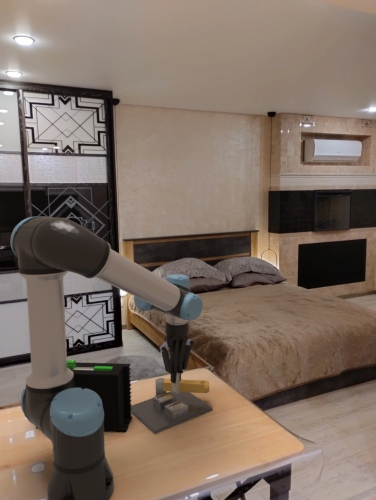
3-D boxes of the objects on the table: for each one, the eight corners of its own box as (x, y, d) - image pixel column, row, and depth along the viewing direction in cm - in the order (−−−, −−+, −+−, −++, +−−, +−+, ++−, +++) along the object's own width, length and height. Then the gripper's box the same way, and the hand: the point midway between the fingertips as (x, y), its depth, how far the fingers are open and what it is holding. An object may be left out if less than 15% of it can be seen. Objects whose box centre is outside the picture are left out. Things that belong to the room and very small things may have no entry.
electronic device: (134, 413, 130) (132, 354, 127) (126, 432, 119) (123, 368, 116) (50, 410, 132) (46, 352, 130) (34, 429, 122) (30, 366, 119)
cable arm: (154, 398, 136) (154, 382, 135) (157, 393, 139) (156, 377, 139) (208, 401, 134) (208, 385, 133) (209, 396, 137) (209, 380, 136)
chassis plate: (154, 433, 118) (154, 422, 118) (126, 408, 132) (126, 398, 132) (212, 410, 131) (212, 399, 130) (181, 389, 145) (181, 379, 145)
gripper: (167, 327, 124) (166, 400, 127) (199, 321, 132) (197, 391, 134) (154, 322, 130) (153, 391, 133) (185, 316, 138) (184, 382, 140)
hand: (175, 391), depth 133 cm, fingers closed
